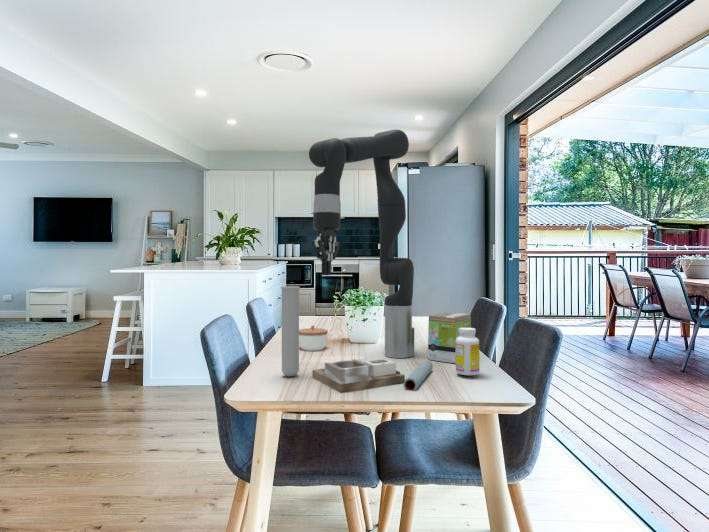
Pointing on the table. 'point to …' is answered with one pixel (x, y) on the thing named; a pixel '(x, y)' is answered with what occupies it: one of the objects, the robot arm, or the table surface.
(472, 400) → the table surface
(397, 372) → the desk organizer tray
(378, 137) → the robot arm
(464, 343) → the supplement bottle
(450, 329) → the tea box
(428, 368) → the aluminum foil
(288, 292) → the tube
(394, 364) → the white hollow block
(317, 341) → the lidded jar
